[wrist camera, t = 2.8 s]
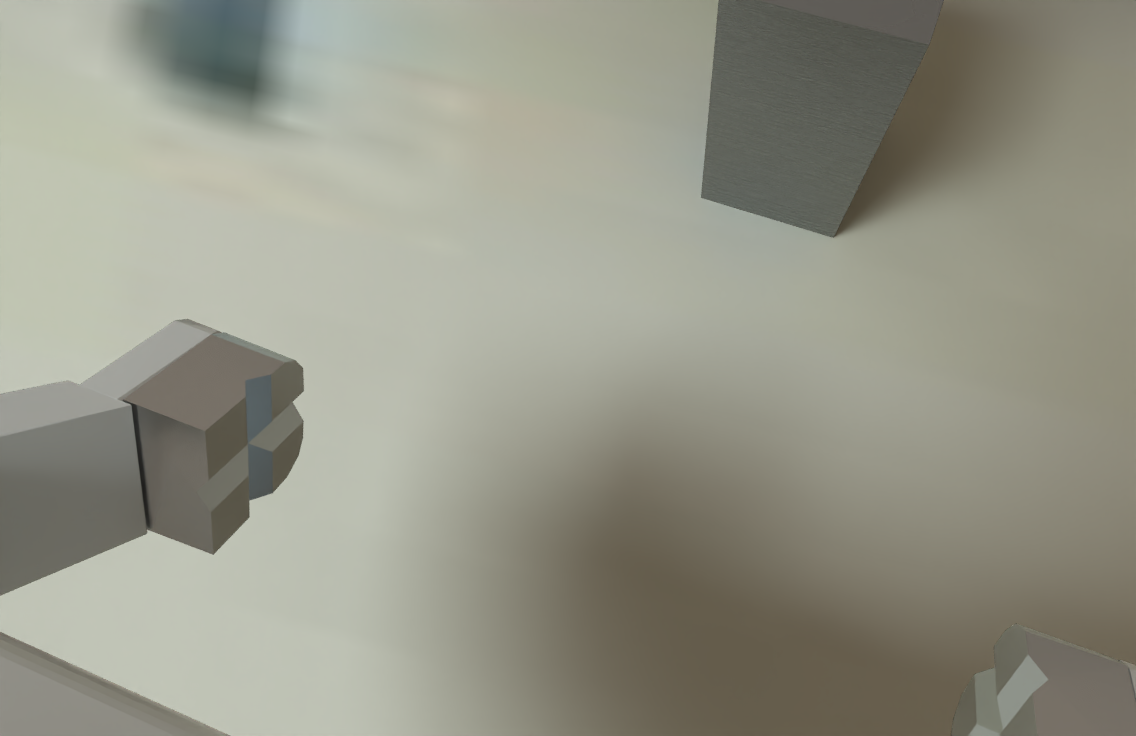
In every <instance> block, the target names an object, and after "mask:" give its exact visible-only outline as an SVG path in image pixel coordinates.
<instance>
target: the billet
mask: <svg viewBox="0 0 1136 736" xmlns="http://www.w3.org/2000/svg"><path fill="white" fill-rule="evenodd" d="M943 1H944V0H719V3H718V14H717V26H716V37H715V48H714V59H713V70H712V82H711V93H710V104H709V115H708V126H707V137H706V149H705V160H704V171H703V182H702V193H701V198H704V199H707V200H711V201H714V202H717V203H721V204H724V205H727V206H731V207H734V208H737V209H741V210H744V211H747V212H750V213H754V214H757V215H760V216H764V217H767V218H770V219H774V220H777V221H780V222H784V223H787V224H790V225H793V226H797V227H800V228H803V229H807V230H810V231H813V232H817V233H820V234H823V235H827V236H830V237H834V235H835V233H836V231H837V229H838V227H839V225H840V223H841V221H842V219H843V217H844V215H845V213H846V211H847V209H848V207H849V205H850V203H851V201H852V199H853V197H854V195H855V193H856V191H857V189H858V187H859V185H860V183H861V181H862V179H863V177H864V175H865V173H866V171H867V169H868V167H869V165H870V163H871V161H872V159H873V157H874V155H875V153H876V151H877V149H878V147H879V145H880V143H881V141H882V139H883V137H884V135H885V133H886V131H887V129H888V127H889V125H890V123H891V121H892V119H893V117H894V115H895V113H896V111H897V109H898V107H899V105H900V103H901V101H902V99H903V97H904V95H905V93H906V91H907V89H908V87H909V85H910V83H911V81H912V78H913V76H914V74H915V72H916V70H917V68H918V66H919V64H920V62H921V60H922V58H923V56H924V54H925V52H926V50H927V48H928V46H929V44H930V41H931V38H932V35H933V32H934V29H935V26H936V23H937V20H938V17H939V14H940V11H941V7H942V4H943Z"/></svg>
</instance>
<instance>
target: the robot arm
mask: <svg viewBox="0 0 1136 736" xmlns="http://www.w3.org/2000/svg"><path fill="white" fill-rule="evenodd" d="M303 391H304V379H303V367H302V366H301V365H300V364H299V363H298V362H297V361H296V360H293V359H291V358H288V357H286V356H283V355H281V354H278V353H275V352H273V351H270V350H268V349H265V348H263V347H260V346H258V345H255V344H253V343H250V342H247V341H245V340H242V339H240V338H237V337H235V336H232V335H230V334H227V333H221V332H219V331H217V330H215V329H212V328H210V327H207V326H205V325H202V324H199V323H197V322H194V321H192V320H189V319H183V320H175V321H173V322H171V323H170V324H168V325H167V326H165V327H164V328H163V329H161V330H160V331H158V332H157V333H155V334H154V335H152V336H151V337H149V338H148V339H146V340H145V341H143V342H142V343H140V344H139V345H137V346H136V347H134V348H133V349H132V350H130V351H129V352H127V353H126V354H124V355H123V356H121V357H120V358H118V359H117V360H115V361H114V362H112V363H111V364H109V365H108V366H106V367H105V368H103V369H102V370H101V371H99V372H98V373H96V374H95V375H93V376H92V377H90V378H89V379H87V380H86V381H84V382H83V383H81V384H80V385H79V384H76V383H74V382H71V381H63V382H58V383H53V384H48V385H43V386H38V387H33V388H28V389H23V390H18V391H13V392H8V393H3V394H0V595H3V594H5V593H8V592H10V591H12V590H15V589H17V588H19V587H22V586H24V585H26V584H29V583H31V582H34V581H36V580H38V579H41V578H43V577H45V576H48V575H50V574H53V573H55V572H57V571H60V570H62V569H64V568H67V567H69V566H72V565H74V564H76V563H79V562H81V561H83V560H86V559H88V558H91V557H93V556H95V555H98V554H100V553H102V552H105V551H107V550H110V549H112V548H114V547H117V546H119V545H121V544H124V543H126V542H129V541H131V540H133V539H136V538H138V537H140V536H143V535H145V534H147V530H150V531H152V532H155V533H158V534H160V535H163V536H166V537H168V538H171V539H174V540H176V541H179V542H181V543H184V544H187V545H189V546H192V547H195V548H197V549H200V550H203V551H205V552H208V553H210V554H213V555H214V554H215V553H216V552H217V550H218V549H219V548H220V547H221V546H222V545H223V544H224V543H225V542H226V541H227V540H228V539H229V538H230V537H231V536H232V535H233V534H234V533H235V532H236V531H237V530H238V529H239V528H240V527H241V526H242V525H243V524H244V522H245V521H246V520H247V519H248V518H249V517H250V514H249V500H252V499H256V498H259V497H262V496H265V495H268V494H271V493H273V492H274V491H275V490H276V489H277V488H278V487H279V485H280V484H281V483H282V482H283V481H284V480H285V479H286V478H287V476H288V474H289V473H290V471H291V469H292V467H293V465H294V463H295V461H296V459H297V458H298V456H299V452H300V448H301V444H302V440H303V422H304V421H303V419H302V417H301V416H300V414H299V412H298V411H297V409H296V407H295V405H294V404H293V401H294V400H295V399H296V398H297V397H298V396H299V395H300V394H301V393H302V392H303ZM994 660H995V668H992V669H989V670H985V671H982V672H979V673H976V674H974V676H973V678H972V679H971V681H970V682H969V684H968V685H967V687H966V689H965V690H964V692H963V693H962V695H961V698H960V701H959V704H958V707H957V710H956V712H955V715H954V718H953V724H952V731H951V736H1136V665H1135V664H1132V663H1129V662H1126V661H1123V660H1116V659H1114V658H1112V657H1109V656H1106V655H1103V654H1100V653H1098V652H1095V651H1092V650H1089V649H1086V648H1084V647H1081V646H1078V645H1075V644H1072V643H1070V642H1067V641H1064V640H1061V639H1058V638H1056V637H1053V636H1050V635H1047V634H1044V633H1042V632H1039V631H1036V630H1033V629H1030V628H1028V627H1025V626H1022V625H1019V624H1017V623H1015V624H1014V625H1013V626H1011V627H1010V628H1008V629H1007V630H1005V632H1004V633H1003V634H1002V636H1001V637H1000V639H999V640H998V641H997V643H996V644H995V646H994ZM0 736H230V735H228V734H225V733H223V732H221V731H219V730H217V729H214V728H212V727H210V726H208V725H205V724H203V723H201V722H199V721H197V720H194V719H192V718H190V717H188V716H186V715H183V714H181V713H179V712H177V711H174V710H172V709H170V708H168V707H166V706H163V705H161V704H159V703H157V702H154V701H152V700H150V699H148V698H146V697H143V696H141V695H139V694H137V693H135V692H132V691H130V690H128V689H126V688H123V687H121V686H119V685H117V684H115V683H112V682H110V681H108V680H106V679H104V678H101V677H99V676H97V675H95V674H92V673H90V672H88V671H86V670H84V669H81V668H79V667H77V666H75V665H72V664H70V663H68V662H66V661H64V660H61V659H59V658H57V657H55V656H53V655H50V654H48V653H46V652H44V651H41V650H39V649H37V648H35V647H33V646H30V645H28V644H26V643H24V642H22V641H19V640H17V639H15V638H13V637H10V636H8V635H6V634H4V633H2V632H0Z"/></svg>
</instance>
